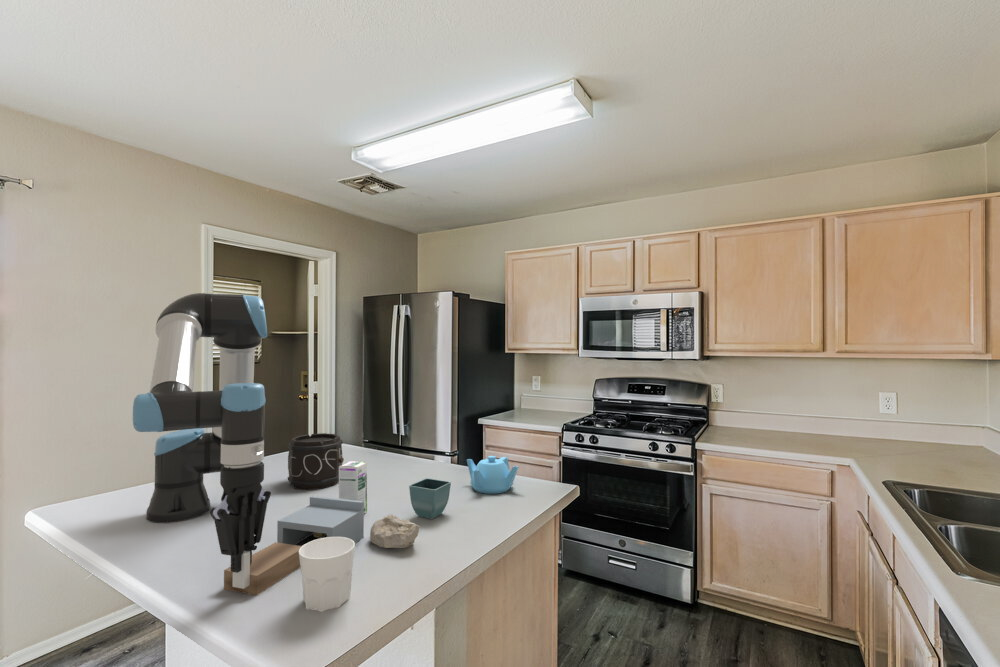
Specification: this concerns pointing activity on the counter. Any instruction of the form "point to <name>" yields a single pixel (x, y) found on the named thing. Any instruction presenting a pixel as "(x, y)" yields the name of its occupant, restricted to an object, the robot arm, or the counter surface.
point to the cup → (326, 572)
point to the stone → (393, 532)
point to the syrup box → (353, 482)
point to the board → (267, 568)
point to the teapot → (491, 475)
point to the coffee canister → (314, 461)
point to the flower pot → (429, 497)
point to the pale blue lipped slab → (323, 520)
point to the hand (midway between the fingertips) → (241, 585)
